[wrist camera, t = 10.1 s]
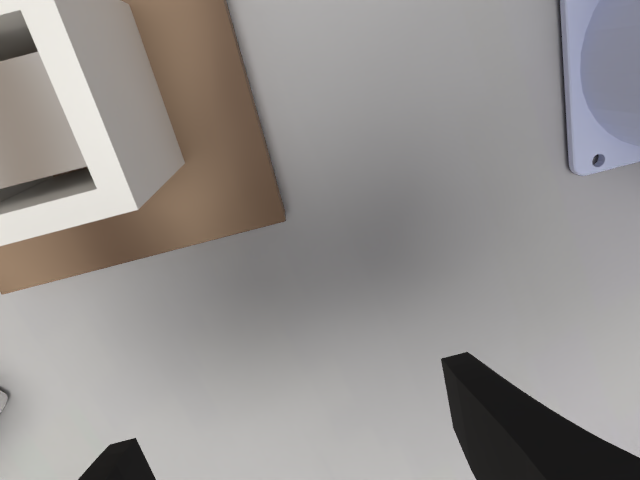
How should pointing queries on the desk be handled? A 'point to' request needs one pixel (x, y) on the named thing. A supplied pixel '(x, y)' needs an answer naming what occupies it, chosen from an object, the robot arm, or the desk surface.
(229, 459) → the desk surface
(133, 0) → the duct base
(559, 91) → the desk surface
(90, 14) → the sleeve
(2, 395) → the medicine bottle
